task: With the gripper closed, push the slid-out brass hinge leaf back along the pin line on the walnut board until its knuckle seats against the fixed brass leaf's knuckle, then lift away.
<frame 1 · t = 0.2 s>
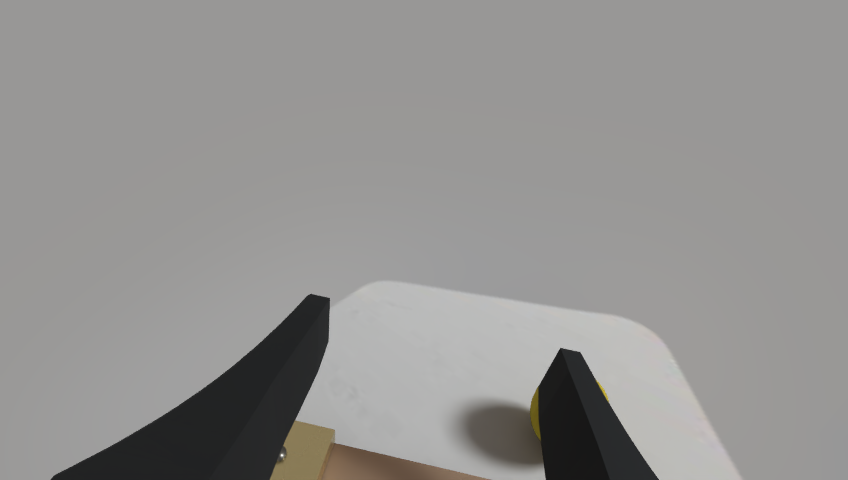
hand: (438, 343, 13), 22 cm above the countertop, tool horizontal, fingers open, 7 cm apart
lemon: (551, 440, 34), on the countertop
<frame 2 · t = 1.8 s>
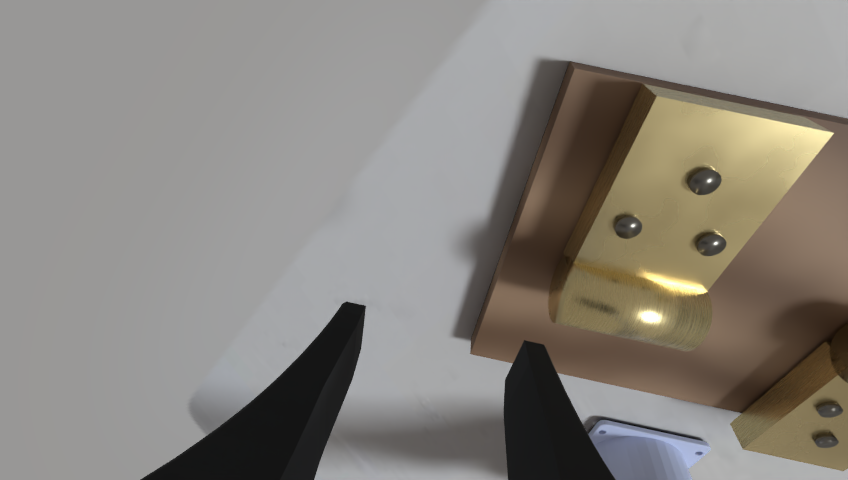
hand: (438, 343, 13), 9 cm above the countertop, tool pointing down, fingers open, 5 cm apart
brass leaf: (664, 239, 17), point 3 cm above the countertop, slide at 8.0 cm
walnut board: (778, 298, 21), on the countertop
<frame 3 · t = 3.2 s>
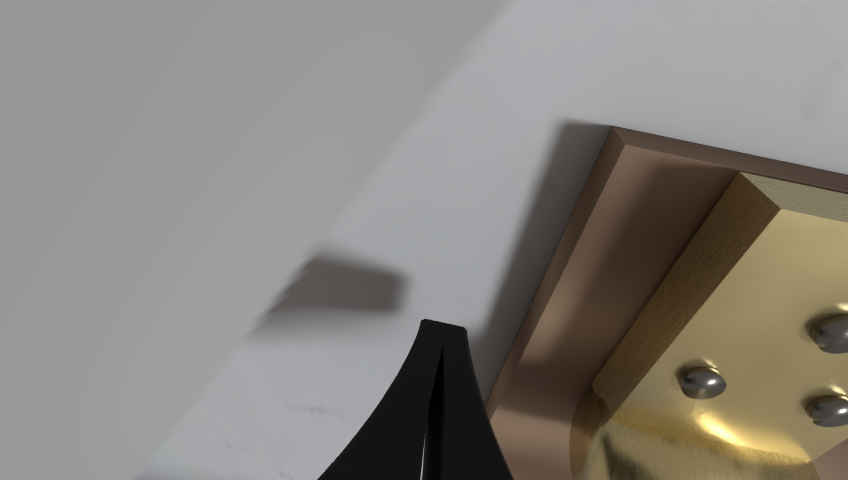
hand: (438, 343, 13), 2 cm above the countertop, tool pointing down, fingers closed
brass leaf: (756, 399, 11), point 3 cm above the countertop, slide at 8.0 cm
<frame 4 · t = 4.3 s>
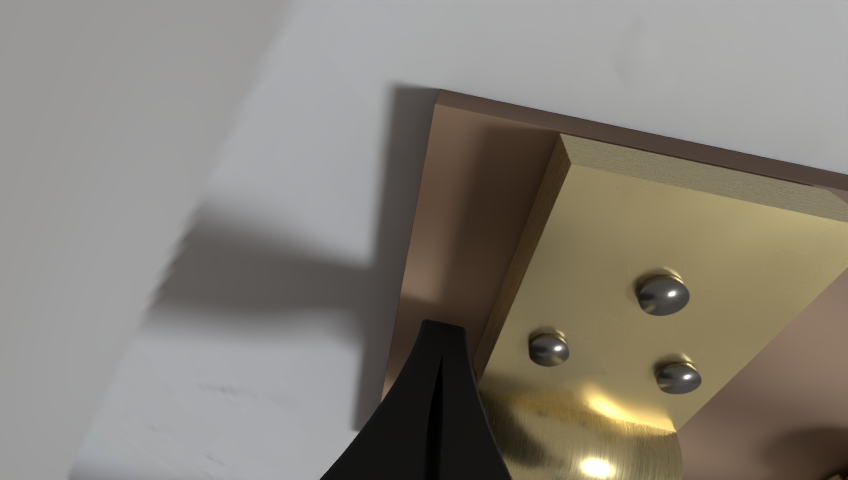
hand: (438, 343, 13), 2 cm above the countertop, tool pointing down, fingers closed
brass leaf: (606, 367, 11), point 3 cm above the countertop, slide at 7.6 cm, touching gripper
walnut board: (772, 410, 15), on the countertop
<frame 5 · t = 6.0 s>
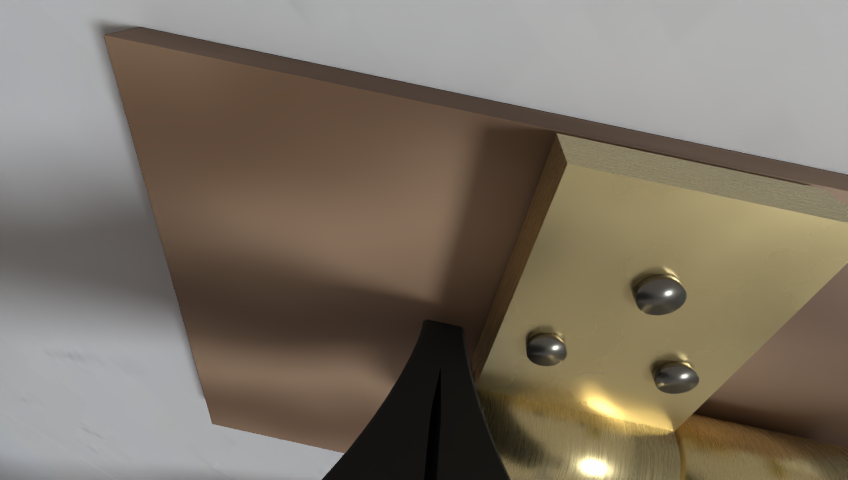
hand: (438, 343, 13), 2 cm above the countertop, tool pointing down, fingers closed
brass leaf: (604, 366, 11), point 3 cm above the countertop, slide at 0.0 cm, touching gripper
walnut board: (570, 365, 15), on the countertop
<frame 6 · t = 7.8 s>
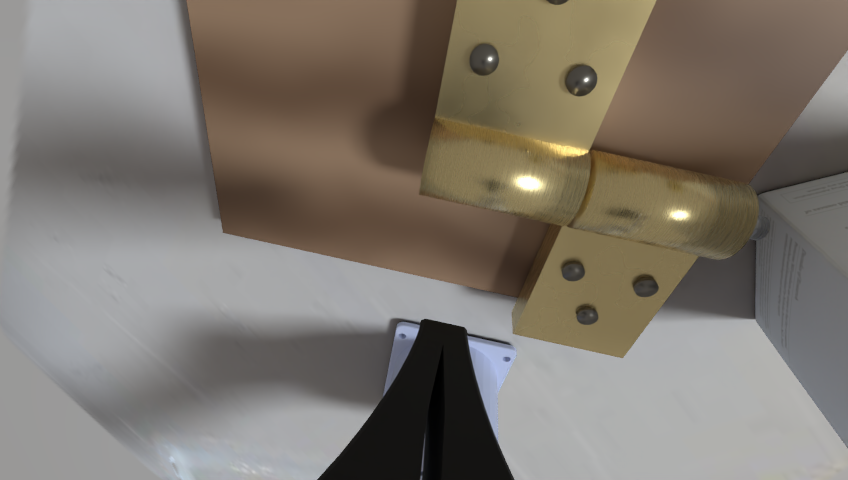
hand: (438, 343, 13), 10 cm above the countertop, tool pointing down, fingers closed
fixed leaf: (626, 276, 19), on the walnut board, point 3 cm above the countertop
brass leaf: (529, 78, 14), point 3 cm above the countertop, slide at 0.0 cm
walnut board: (519, 147, 19), on the countertop
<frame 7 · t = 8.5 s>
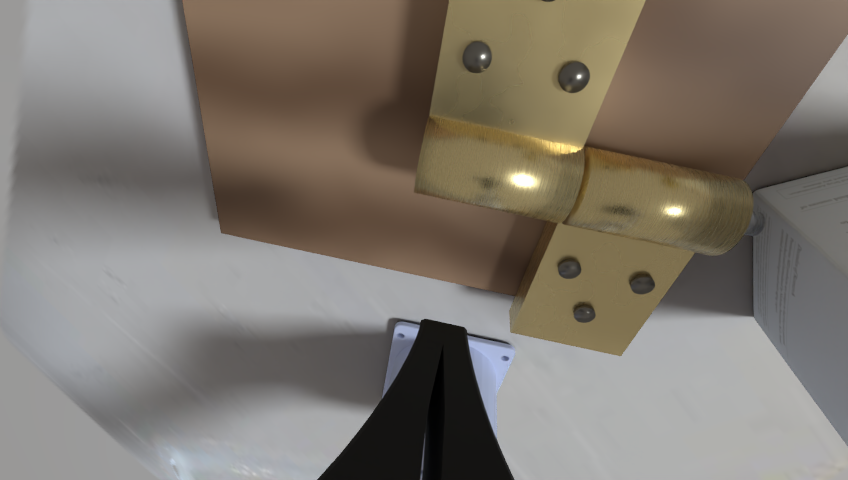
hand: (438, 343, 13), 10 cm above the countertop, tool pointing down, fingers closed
fixed leaf: (623, 273, 19), on the walnut board, point 3 cm above the countertop
brass leaf: (522, 75, 14), point 3 cm above the countertop, slide at 0.0 cm
walnut board: (514, 145, 19), on the countertop
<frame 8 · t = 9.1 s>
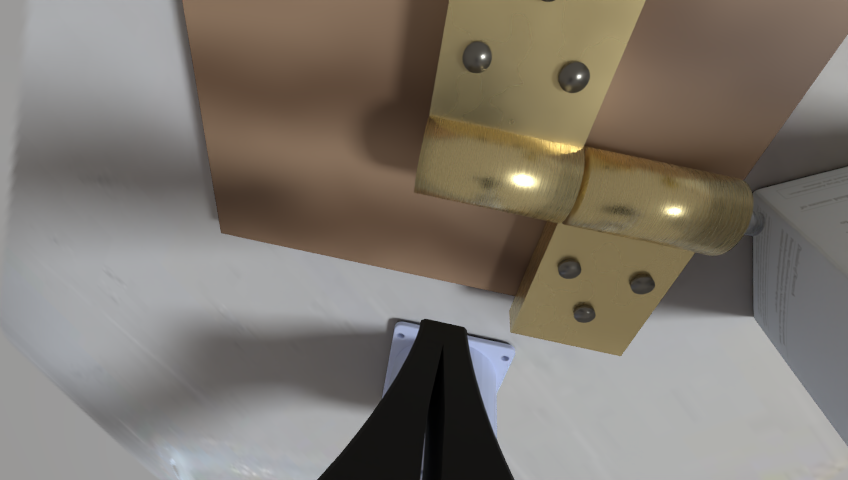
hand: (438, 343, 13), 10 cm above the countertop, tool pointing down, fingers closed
fixed leaf: (623, 273, 19), on the walnut board, point 3 cm above the countertop
brass leaf: (522, 75, 14), point 3 cm above the countertop, slide at 0.0 cm
walnut board: (514, 145, 19), on the countertop
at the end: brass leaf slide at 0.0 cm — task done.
